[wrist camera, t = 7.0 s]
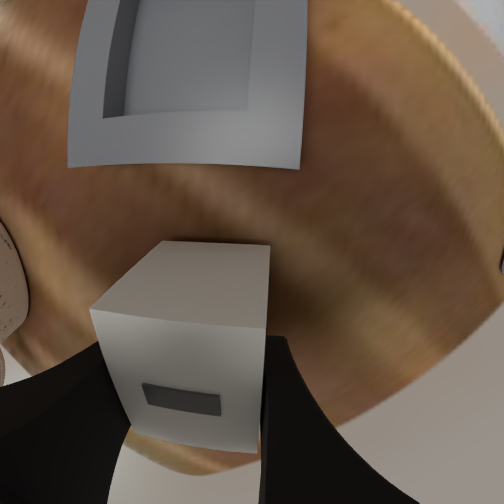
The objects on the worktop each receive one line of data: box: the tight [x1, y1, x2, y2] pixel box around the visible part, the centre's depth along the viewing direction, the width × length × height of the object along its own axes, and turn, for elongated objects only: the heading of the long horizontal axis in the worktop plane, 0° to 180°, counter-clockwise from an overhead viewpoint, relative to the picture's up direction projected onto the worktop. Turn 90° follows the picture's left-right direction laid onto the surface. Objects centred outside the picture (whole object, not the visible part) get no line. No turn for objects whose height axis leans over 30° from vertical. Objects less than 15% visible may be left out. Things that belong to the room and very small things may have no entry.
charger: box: [89, 241, 270, 453], centre depth 9 cm, size 4×5×5 cm
